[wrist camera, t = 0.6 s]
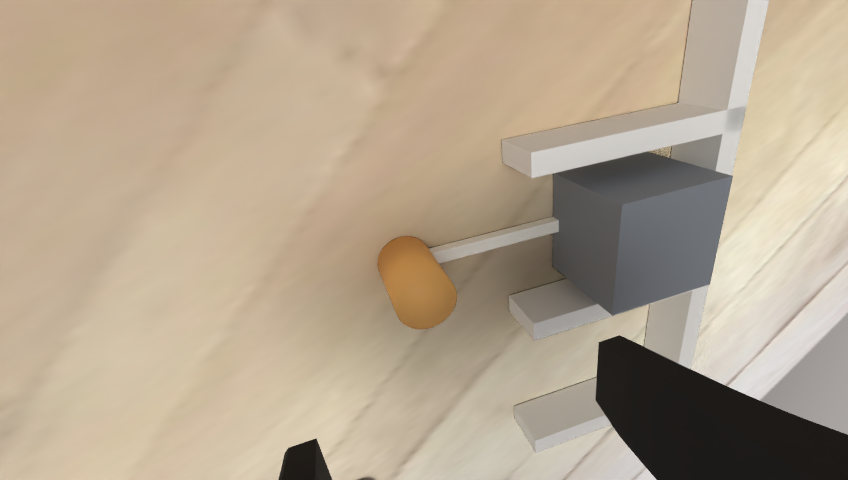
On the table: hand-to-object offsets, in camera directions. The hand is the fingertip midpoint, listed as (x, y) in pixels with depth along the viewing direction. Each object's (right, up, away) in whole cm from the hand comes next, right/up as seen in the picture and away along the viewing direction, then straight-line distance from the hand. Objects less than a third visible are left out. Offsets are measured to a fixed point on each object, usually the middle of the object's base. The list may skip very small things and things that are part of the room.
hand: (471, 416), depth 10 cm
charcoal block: (+3, +5, +10) cm, 11 cm away
